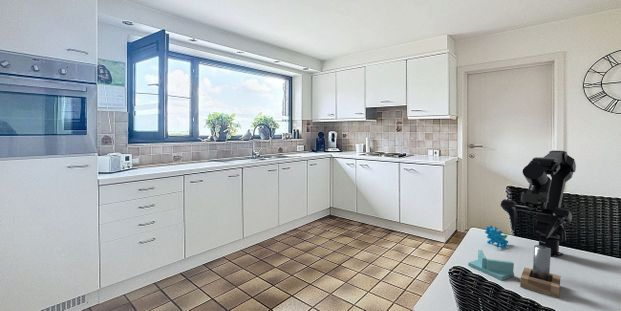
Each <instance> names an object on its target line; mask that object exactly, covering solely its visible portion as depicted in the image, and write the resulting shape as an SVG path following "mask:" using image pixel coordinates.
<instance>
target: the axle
mask: <svg viewBox="0 0 621 311" xmlns="http://www.w3.org/2000/svg"><path fill="white" fill-rule="evenodd" d="M532 262H533V263H532V269H533V278H536V279H540V280H544V281H548V282H549V274H551V273H550V270H551V249H550V248H549V247H546V246H542V245H539V244H535V245H534V246H533V261H532Z"/></svg>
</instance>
